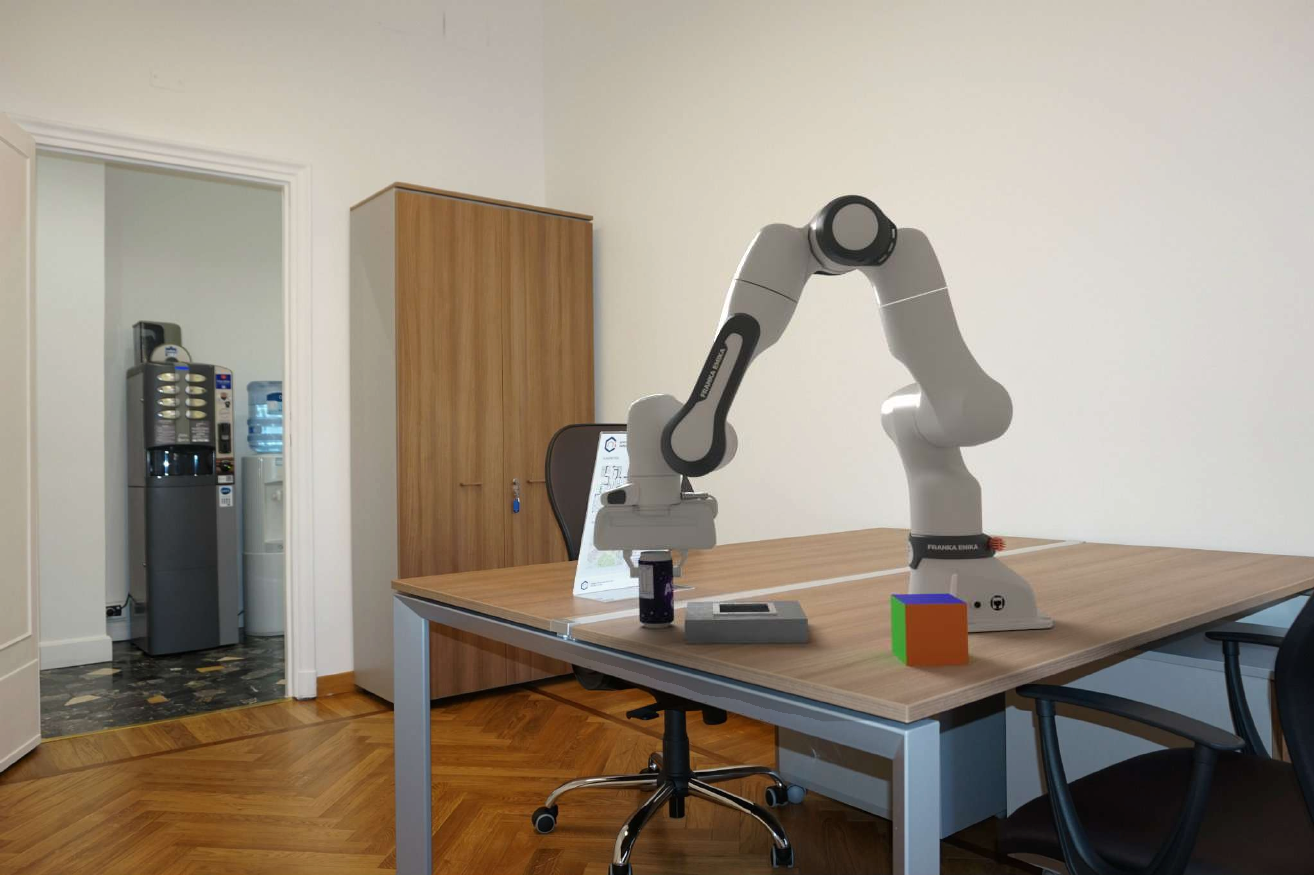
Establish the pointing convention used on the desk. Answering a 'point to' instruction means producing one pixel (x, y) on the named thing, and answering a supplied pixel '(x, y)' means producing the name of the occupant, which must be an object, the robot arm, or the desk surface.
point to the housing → (745, 622)
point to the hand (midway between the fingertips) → (655, 577)
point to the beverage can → (656, 589)
